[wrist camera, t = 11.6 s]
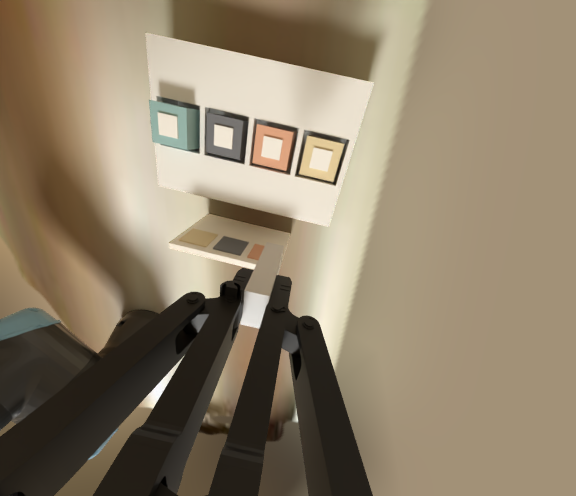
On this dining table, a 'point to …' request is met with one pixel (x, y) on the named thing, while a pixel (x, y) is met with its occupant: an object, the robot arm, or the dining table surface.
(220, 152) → the key
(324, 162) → the key
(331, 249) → the dining table surface
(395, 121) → the dining table surface
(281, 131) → the key
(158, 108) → the key
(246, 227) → the placard
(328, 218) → the keypad
